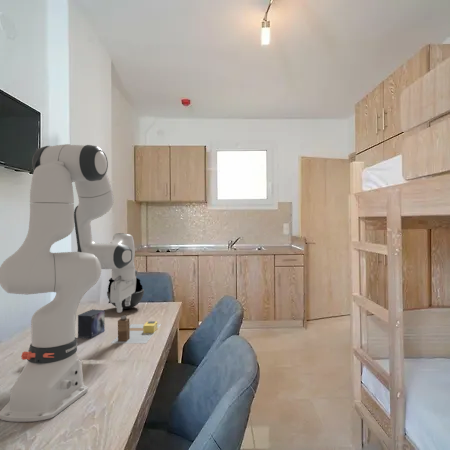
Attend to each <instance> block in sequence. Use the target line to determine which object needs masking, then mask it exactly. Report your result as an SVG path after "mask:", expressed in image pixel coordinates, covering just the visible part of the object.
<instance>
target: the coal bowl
mask: <svg viewBox="0 0 450 450" xmlns="http://www.w3.org/2000/svg"><path fill="white" fill-rule="evenodd" d="M113 282H114V280H113V279H112V277H110V278H109V280H108V286H107V291H106V296H107V298H108V302H110V303H111V301H110V292H111V284H112V283H113ZM144 294H145V289H144V288H143V285H142V283H141V280H140V278H138V277H136V289H135V292H134V293H133V294H131V300H130V306H125V301H126V299H124V300H123V301H122V304H121V305H122V307H123V309H122V310H129V309H133V308H135V307H136V306H138V304H140V302H141V301H142V299H143V297H144ZM111 304H112V306H114V307H115V308H116V305H115V303H111Z"/></svg>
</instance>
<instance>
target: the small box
mask: <svg viewBox="0 0 450 450" xmlns="http://www.w3.org/2000/svg"><path fill="white" fill-rule="evenodd" d="M105 311H106V310H104V309H103V310H102V309H90V310H88V311H85V312H83V313H81V314H78V315H77V338H78V339H87V340H88V339H90V340H91V339H93V338H96V336H99V335H101V334H102V333H104V332H105V331H106V330H105V327H106V326H105Z"/></svg>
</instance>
